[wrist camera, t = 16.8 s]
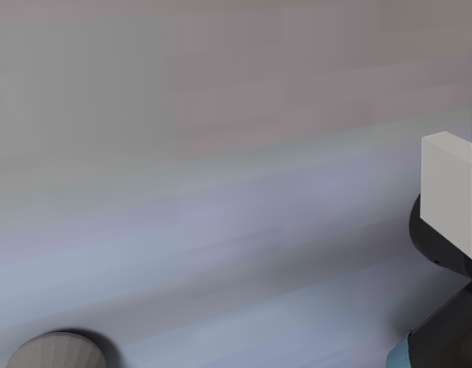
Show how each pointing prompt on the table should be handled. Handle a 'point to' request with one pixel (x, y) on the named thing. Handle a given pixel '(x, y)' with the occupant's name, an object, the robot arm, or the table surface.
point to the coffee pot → (58, 352)
